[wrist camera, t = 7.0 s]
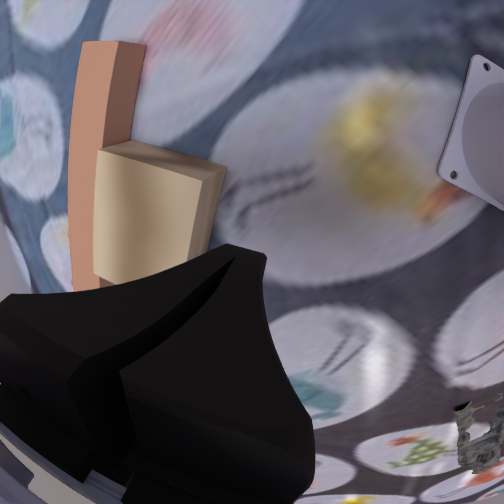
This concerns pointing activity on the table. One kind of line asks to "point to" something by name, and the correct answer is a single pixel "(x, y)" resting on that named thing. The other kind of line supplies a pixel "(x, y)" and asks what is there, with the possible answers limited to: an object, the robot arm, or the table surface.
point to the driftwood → (480, 441)
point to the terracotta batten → (97, 139)
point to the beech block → (151, 209)
